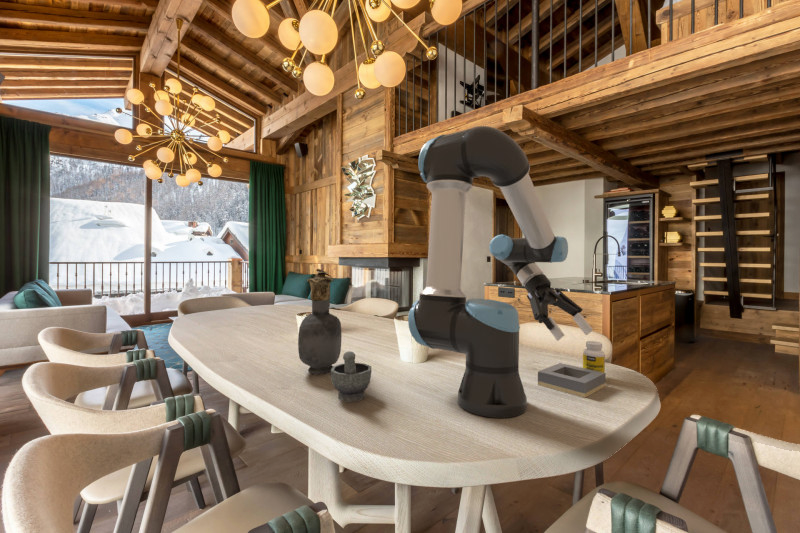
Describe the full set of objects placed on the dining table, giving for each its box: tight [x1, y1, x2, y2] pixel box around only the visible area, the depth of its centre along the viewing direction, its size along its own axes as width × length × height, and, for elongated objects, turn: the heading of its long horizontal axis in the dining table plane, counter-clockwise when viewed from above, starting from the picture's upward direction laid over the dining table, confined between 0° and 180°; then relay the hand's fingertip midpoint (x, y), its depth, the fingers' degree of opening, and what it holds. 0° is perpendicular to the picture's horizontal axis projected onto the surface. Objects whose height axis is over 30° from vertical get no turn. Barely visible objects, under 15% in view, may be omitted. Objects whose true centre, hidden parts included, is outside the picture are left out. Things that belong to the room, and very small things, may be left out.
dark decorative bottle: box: [297, 268, 342, 376], centre depth 112 cm, size 11×19×30 cm, turn 0°
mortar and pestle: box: [330, 350, 372, 403], centre depth 89 cm, size 11×9×12 cm
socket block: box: [537, 362, 607, 399], centre depth 97 cm, size 12×12×4 cm
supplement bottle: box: [582, 340, 606, 373], centre depth 104 cm, size 5×5×10 cm
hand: (575, 335), depth 110 cm, fingers open, 13 cm apart
